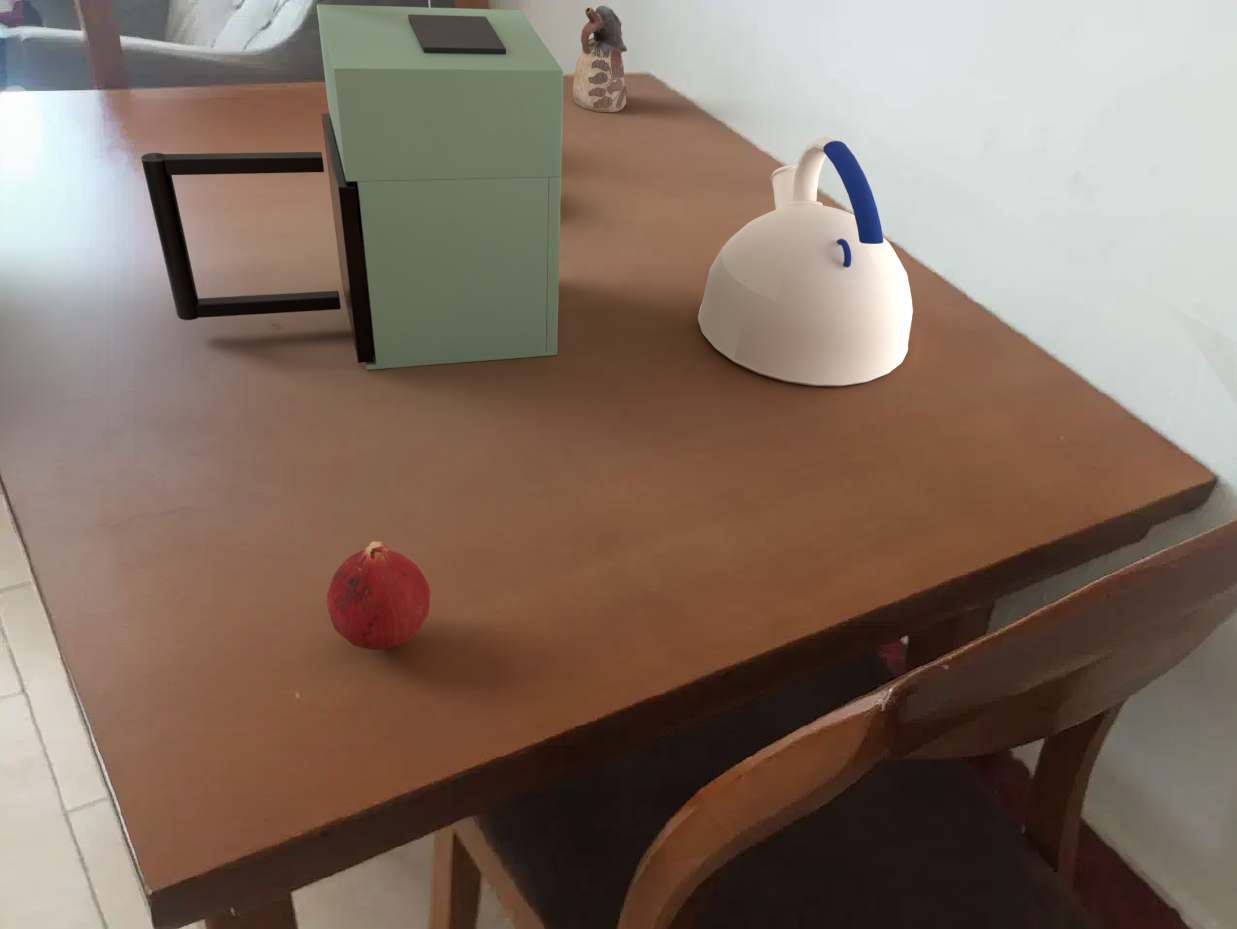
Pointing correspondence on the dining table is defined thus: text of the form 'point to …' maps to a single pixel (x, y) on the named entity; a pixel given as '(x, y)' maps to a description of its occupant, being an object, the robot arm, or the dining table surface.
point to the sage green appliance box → (450, 177)
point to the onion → (378, 598)
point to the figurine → (601, 63)
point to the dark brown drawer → (193, 307)
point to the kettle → (811, 283)
